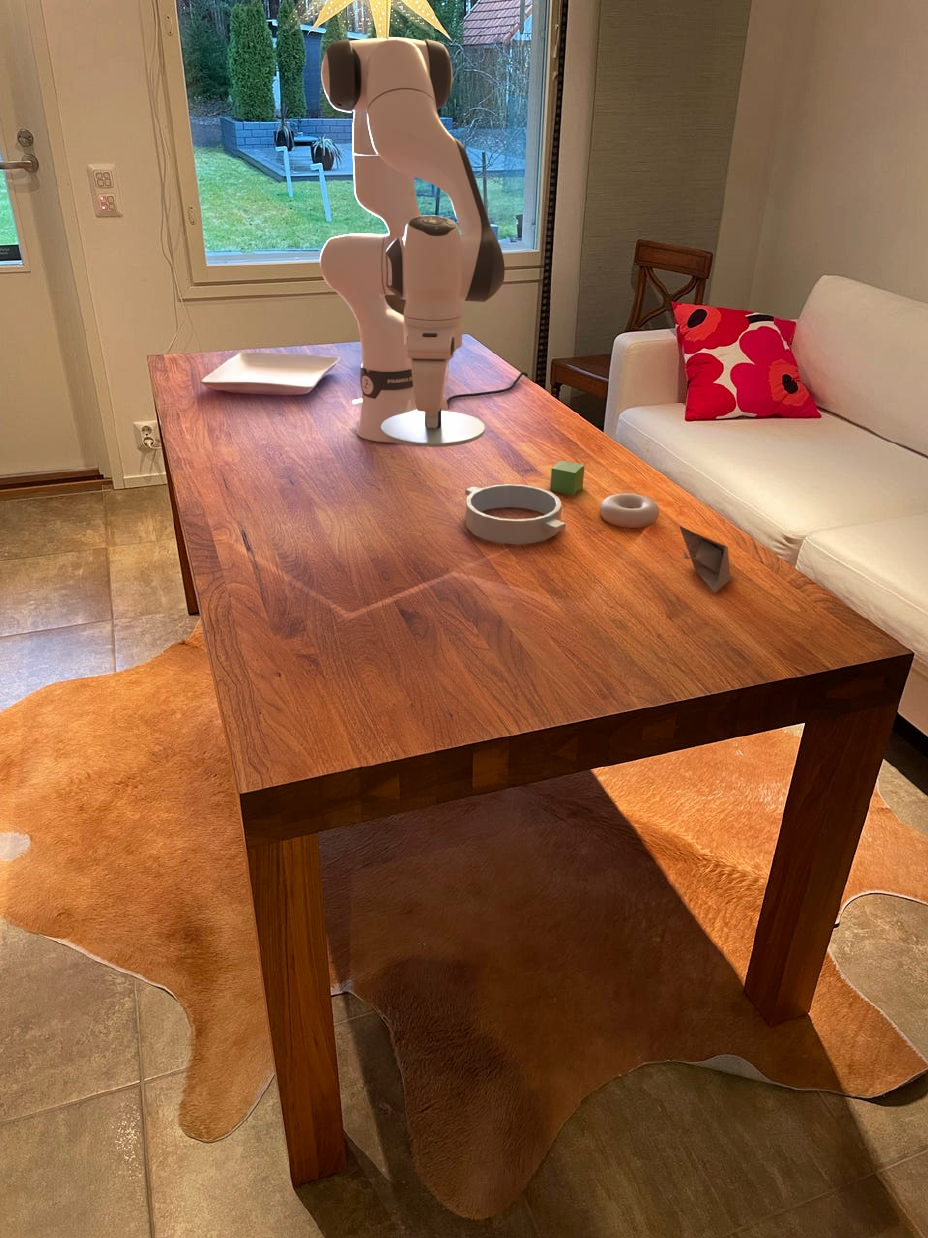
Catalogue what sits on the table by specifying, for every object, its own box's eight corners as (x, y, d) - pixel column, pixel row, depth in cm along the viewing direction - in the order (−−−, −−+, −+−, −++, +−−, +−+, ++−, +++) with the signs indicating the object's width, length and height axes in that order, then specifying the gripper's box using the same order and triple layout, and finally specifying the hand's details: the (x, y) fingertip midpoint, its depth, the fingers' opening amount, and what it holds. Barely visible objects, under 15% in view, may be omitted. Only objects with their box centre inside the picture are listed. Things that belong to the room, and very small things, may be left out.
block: (559, 483, 171) (561, 460, 168) (582, 488, 169) (584, 464, 167) (549, 492, 167) (551, 468, 165) (573, 497, 165) (575, 472, 163)
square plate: (240, 365, 240) (238, 350, 238) (342, 370, 236) (342, 355, 235) (200, 394, 216) (198, 378, 214) (313, 401, 213) (312, 384, 211)
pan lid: (438, 411, 157) (438, 380, 155) (506, 435, 147) (507, 403, 144) (360, 431, 147) (358, 399, 145) (426, 458, 137) (426, 424, 134)
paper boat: (757, 578, 136) (719, 579, 130) (726, 602, 140) (689, 604, 135) (718, 514, 141) (680, 512, 135) (690, 538, 145) (652, 538, 139)
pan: (501, 496, 165) (502, 472, 163) (591, 533, 152) (593, 508, 150) (436, 519, 156) (436, 495, 154) (525, 561, 143) (526, 534, 140)
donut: (653, 536, 152) (662, 512, 160) (655, 517, 150) (664, 494, 158) (593, 527, 154) (605, 504, 162) (595, 508, 153) (607, 486, 161)
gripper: (418, 318, 148) (419, 403, 155) (405, 349, 131) (406, 443, 138) (457, 319, 148) (456, 404, 155) (449, 350, 130) (449, 444, 137)
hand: (433, 422), depth 146 cm, fingers closed on pan lid, 2 cm apart
